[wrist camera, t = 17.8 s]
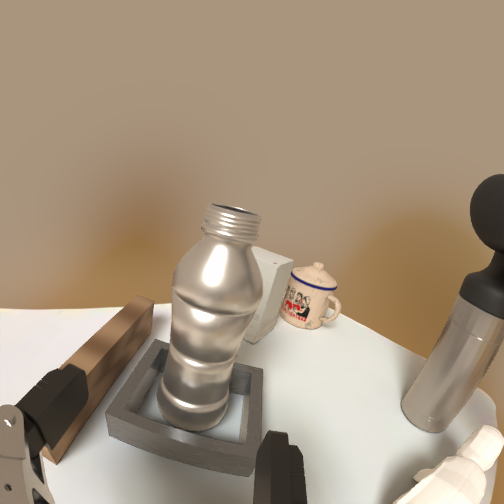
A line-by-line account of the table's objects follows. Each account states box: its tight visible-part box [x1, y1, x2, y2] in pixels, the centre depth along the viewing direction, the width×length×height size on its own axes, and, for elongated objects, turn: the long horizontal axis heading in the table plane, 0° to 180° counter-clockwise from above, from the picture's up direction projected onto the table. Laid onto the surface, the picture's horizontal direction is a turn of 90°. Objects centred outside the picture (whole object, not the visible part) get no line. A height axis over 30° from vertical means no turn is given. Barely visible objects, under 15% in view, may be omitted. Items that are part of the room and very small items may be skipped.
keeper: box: [105, 339, 263, 477], centre depth 22 cm, size 12×12×4 cm
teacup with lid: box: [280, 262, 341, 329], centre depth 50 cm, size 12×9×12 cm
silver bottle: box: [156, 203, 263, 431], centre depth 20 cm, size 6×7×20 cm
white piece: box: [392, 425, 504, 504], centre depth 11 cm, size 9×8×15 cm
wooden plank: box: [41, 296, 154, 465], centre depth 22 cm, size 24×2×5 cm, turn 177°
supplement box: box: [243, 247, 294, 344], centre depth 42 cm, size 7×7×13 cm
